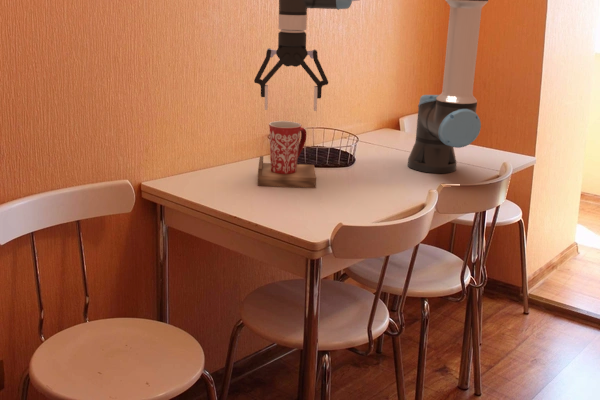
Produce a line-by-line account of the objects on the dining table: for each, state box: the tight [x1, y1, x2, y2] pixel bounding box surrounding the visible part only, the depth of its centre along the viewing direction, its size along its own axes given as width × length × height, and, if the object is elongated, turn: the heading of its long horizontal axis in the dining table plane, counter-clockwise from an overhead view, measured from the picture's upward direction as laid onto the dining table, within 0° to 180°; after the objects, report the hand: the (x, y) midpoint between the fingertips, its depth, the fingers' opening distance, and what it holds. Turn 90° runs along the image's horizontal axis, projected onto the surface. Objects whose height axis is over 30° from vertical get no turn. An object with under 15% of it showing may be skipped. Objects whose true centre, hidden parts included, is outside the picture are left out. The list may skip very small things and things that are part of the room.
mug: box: [268, 120, 307, 174], centre depth 198 cm, size 13×9×14 cm
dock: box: [257, 155, 317, 189], centre depth 200 cm, size 16×14×5 cm
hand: (290, 109), depth 194 cm, fingers open, 13 cm apart
